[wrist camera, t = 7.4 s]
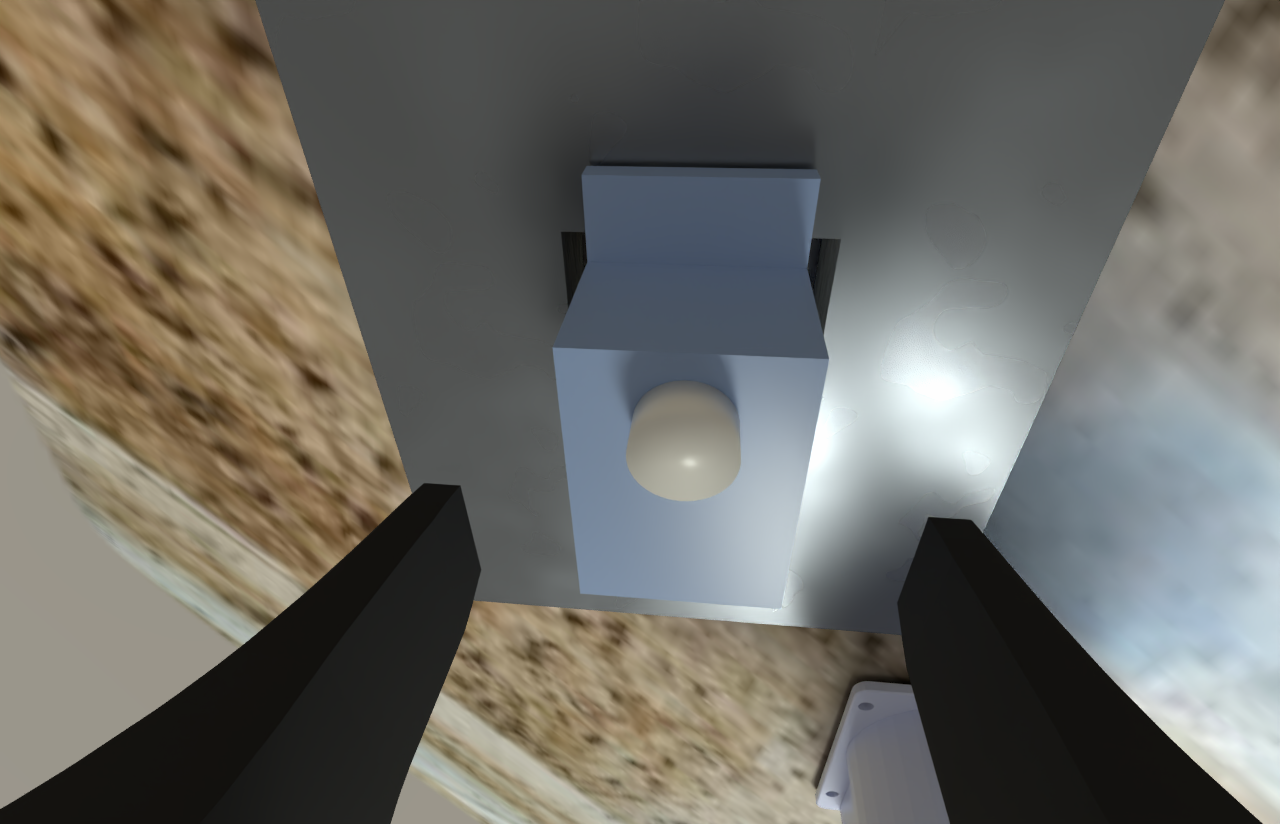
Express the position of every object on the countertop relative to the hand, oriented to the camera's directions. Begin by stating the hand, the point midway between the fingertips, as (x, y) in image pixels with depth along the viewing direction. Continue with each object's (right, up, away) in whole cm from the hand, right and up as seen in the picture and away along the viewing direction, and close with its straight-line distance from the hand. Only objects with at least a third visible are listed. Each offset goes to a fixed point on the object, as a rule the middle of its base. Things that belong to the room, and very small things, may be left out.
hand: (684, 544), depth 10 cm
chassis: (+1, +4, +5) cm, 6 cm away
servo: (+1, +4, +5) cm, 6 cm away
